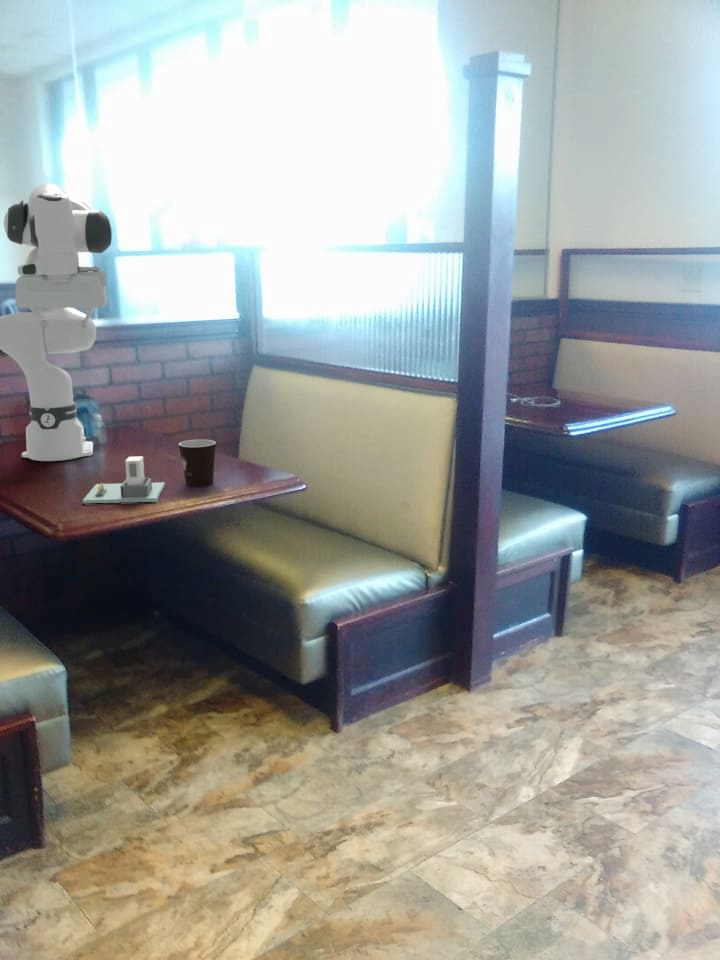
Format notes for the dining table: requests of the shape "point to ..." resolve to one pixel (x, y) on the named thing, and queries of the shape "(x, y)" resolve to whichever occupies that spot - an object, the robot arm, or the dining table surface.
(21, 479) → the dining table surface
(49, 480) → the dining table surface
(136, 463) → the plug
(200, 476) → the coffee mug
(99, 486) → the board
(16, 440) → the dining table surface
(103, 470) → the dining table surface
